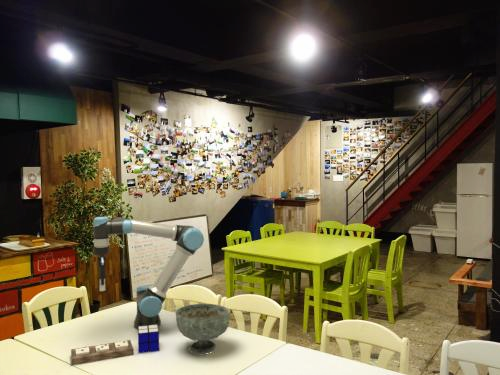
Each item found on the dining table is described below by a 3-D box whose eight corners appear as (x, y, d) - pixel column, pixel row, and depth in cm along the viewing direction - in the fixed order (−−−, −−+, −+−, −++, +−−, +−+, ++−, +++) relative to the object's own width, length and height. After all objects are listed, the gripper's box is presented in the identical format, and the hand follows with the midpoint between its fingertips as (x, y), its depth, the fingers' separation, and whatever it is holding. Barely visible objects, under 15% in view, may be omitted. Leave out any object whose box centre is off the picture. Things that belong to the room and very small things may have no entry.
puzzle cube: (138, 353, 210) (138, 333, 209) (138, 345, 219) (137, 326, 219) (159, 351, 212) (158, 331, 212) (158, 343, 222) (157, 324, 222)
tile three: (108, 349, 212) (108, 343, 212) (109, 354, 207) (109, 348, 207) (95, 351, 210) (95, 345, 210) (96, 356, 204) (96, 350, 204)
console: (130, 345, 219) (130, 339, 219) (133, 354, 208) (133, 348, 208) (71, 355, 208) (71, 349, 208) (71, 365, 197) (71, 359, 197)
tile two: (127, 346, 216) (126, 340, 216) (128, 350, 210) (128, 344, 210) (114, 348, 213) (114, 342, 213) (115, 352, 208) (115, 346, 208)
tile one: (89, 352, 209) (88, 346, 209) (89, 357, 203) (89, 351, 203) (75, 354, 206) (75, 348, 206) (75, 359, 201) (75, 353, 201)
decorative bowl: (165, 355, 206) (166, 314, 206) (188, 336, 231) (189, 299, 230) (216, 364, 198) (218, 321, 198) (234, 343, 223) (236, 305, 222)
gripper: (93, 244, 230) (94, 288, 231) (94, 248, 218) (95, 294, 219) (107, 243, 233) (108, 286, 234) (110, 247, 221) (111, 292, 222)
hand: (102, 290), depth 226 cm, fingers closed
